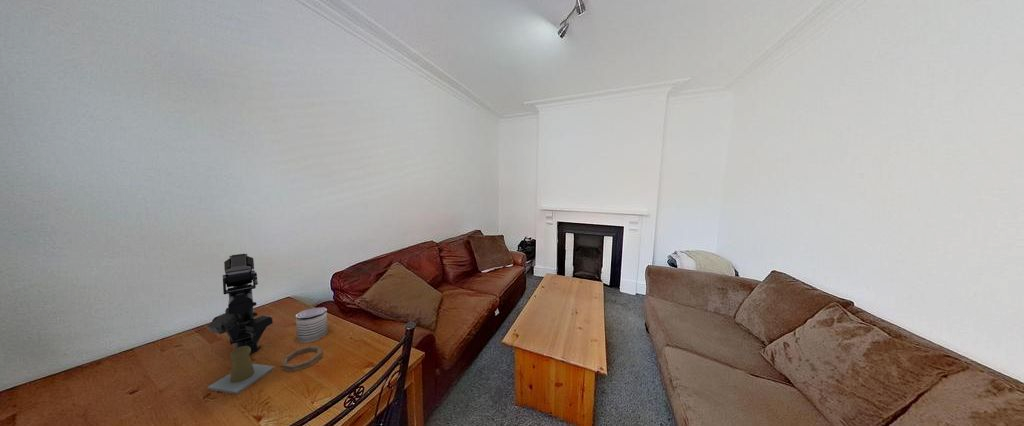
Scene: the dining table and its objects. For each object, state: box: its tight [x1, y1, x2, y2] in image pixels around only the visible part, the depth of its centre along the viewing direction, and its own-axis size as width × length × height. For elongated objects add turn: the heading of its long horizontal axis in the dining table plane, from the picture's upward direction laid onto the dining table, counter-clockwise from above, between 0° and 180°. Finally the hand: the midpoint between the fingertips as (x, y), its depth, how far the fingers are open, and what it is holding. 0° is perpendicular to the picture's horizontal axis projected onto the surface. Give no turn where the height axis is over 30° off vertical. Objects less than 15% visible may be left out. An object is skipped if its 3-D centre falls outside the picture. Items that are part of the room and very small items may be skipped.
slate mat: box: [206, 362, 275, 395], centre depth 91 cm, size 12×12×1 cm
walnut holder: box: [280, 344, 323, 373], centre depth 101 cm, size 12×12×2 cm
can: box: [295, 306, 328, 343], centre depth 117 cm, size 11×11×12 cm
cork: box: [229, 346, 254, 383], centre depth 90 cm, size 6×6×11 cm
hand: (244, 342), depth 92 cm, fingers open, 9 cm apart
